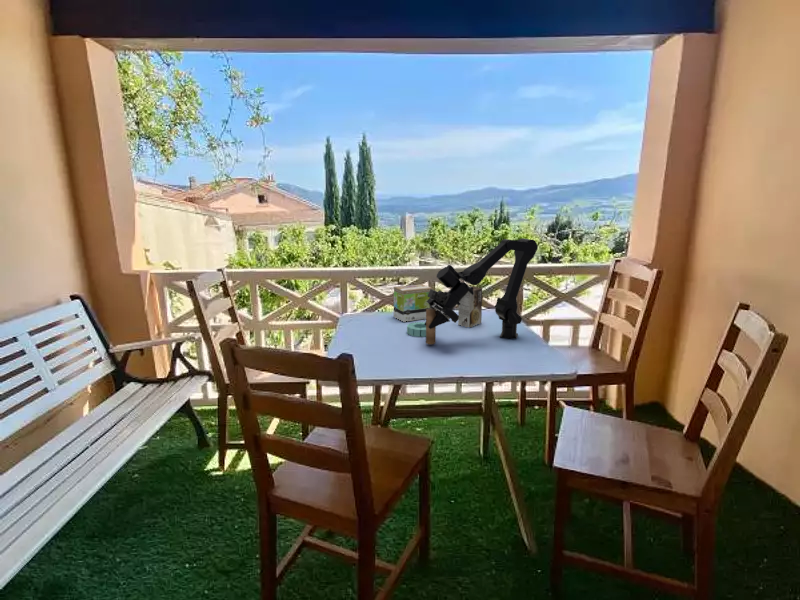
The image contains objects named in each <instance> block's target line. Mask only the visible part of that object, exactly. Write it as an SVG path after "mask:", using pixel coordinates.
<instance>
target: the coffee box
mask: <svg viewBox="0 0 800 600" xmlns="http://www.w3.org/2000/svg"><path fill="white" fill-rule="evenodd" d="M470 286H471V287H473V293H474V294H473V295H472V294H470V293H467V294H466V295H465V296H464V297H463V298H462V299H461V301H460V302H459V303H460V305H458V313H457V315H458V316H459V319H458V321H457V323H458V324H457V325H458V326H459V325H461V326H460V327H463V326H465V327H464V328H467V327H471V328H474V327H476V326H478V325H477V324H479V325H481V324H482V318H483V317H482V315H483V313H482V312H483V287H477V286H472V285H470ZM480 323H481V324H480ZM475 325H476V326H475ZM473 326H474V327H473Z"/></svg>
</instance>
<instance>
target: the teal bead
mask: <svg viewBox="0 0 800 600" xmlns="http://www.w3.org/2000/svg"><path fill="white" fill-rule="evenodd" d="M425 322H426V321H424V322H423V321H418V322H412V323H411V322H410V323H408V324H407V326H406V334H407V335H408V334H409V336H412V337H416V338H417V337H418V338H426V325H425Z"/></svg>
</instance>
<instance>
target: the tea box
mask: <svg viewBox="0 0 800 600" xmlns="http://www.w3.org/2000/svg"><path fill="white" fill-rule="evenodd" d="M430 289H432V290H433V287H431V286H428V285H424V284H420V283H419V284H411V285H404V286H403V285H401V286H394V287H393V318H394V317H395V319H396V318H397V319H396V320H398V319H399V320H398V321H400V320H401V321H400V322H402V321H403V322H402V323H406V321H407V322H412V321H421V320H426V309H430V307H429V304H428V303H427V301H428V299H429V298H430V297H427V296H428V294H429V291H430Z"/></svg>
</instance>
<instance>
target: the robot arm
mask: <svg viewBox="0 0 800 600" xmlns="http://www.w3.org/2000/svg"><path fill="white" fill-rule="evenodd" d="M538 245H539V244H537V241H536V240H534V239H529V238H520V239H518V240H515V239H509V238H503V239H501V241H500V242H499V243H498V244H497V245H496V246H495V247H494V248H493V249H491V250H490V251H489V252H488V253H487V254H486V255H485V256H484V257H483V258H481V259H480V260H479V261H478V262H476V263H473V264H471V265H469V266H468V267H466V268H465V269H464V270H462V271H456V269H455V268H454V267H453V265H451V264H448V265H447V266H444V267H442V269H439V271H438V272H437V274H436V279H438V280H439V281H440V282H441V283H442V284H443V285H444V286H445V288H450V289H449V290H448V291H442V290H438V291H437V290H434V289H433V288H432V289H430V291H429V294H428V296H427V297H430V298H429V299H428V301H427V303H428V304H429V307H430V308H432V309H436V316H435V318H434V319H433V321H432V322H431V323H430V325H429V328H430V329H431V328H434V327H437V326H441V325H443V324H445V323H448V322H450V321H452V322H453V323H454V324H456V323H458V319H459V316H458V313H457V312H455V311H454V309H455V308H456V306H459V305H460V303H459V302H460V301H461V299H462V298H463V297H464V296H465V295H466V294H467V293H470V294H472V295H473V294H474V293H473V287H474V286H477V285H479V284H480V283H481V282H482V281H483V279H484V278H485V277H486V275H487V272H489V270H490V269H491V268H492V267H494V266H495V264H497V263H498V262H499V261H500V260H501V259H502V258H503V257H505V256H506V254H508V253H509V252H511V251H514V258H515V260H514V263H513V266H512V269H511V273H510V275H509V278H508V283H507V285H506V289H505V291H504V294H503V295H502V297H497V299H496V303H495V305H494V308H495V310H494V312H495V314H496V315H497V316H498V319H499V320H501V321H502V323H501V333H500V335H499V338H500V339H501V338H502V339H513V340H517V339H518V337H519V334H518V333H517V331H518V330H517V329H518V328H517V326H518V325H520V324H521V323H522V320H523V317H521V316H520V314H519V313H518V301H517V300H518V299H517V298H518V295H519V293H520V292H519V291H520V288H521V286H522V282H523V279H524V277H525V273H526V270H527V267H528V265H529V262H530V261H532V259H534V257H535V255H536V254H537V250H538V247H539V246H538ZM468 284H469V285H468ZM472 285H473V286H472ZM471 286H472V287H471ZM450 319H451V320H450ZM424 322H425V325H426V321H424Z"/></svg>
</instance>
